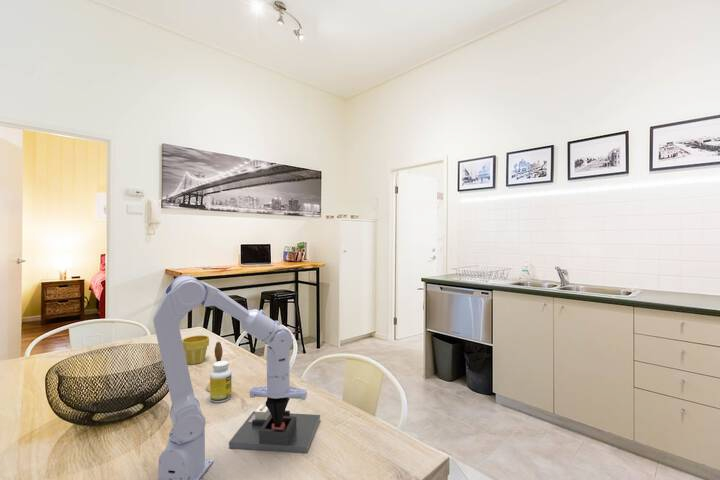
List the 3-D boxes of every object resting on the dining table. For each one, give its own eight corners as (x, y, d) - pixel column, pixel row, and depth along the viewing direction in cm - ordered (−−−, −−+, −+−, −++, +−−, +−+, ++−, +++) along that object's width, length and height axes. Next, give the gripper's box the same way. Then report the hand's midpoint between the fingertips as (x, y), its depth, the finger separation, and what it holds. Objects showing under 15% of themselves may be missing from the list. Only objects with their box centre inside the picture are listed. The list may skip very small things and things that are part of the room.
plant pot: (184, 358, 148) (184, 336, 148) (210, 356, 151) (210, 334, 151) (179, 367, 138) (179, 343, 138) (207, 364, 141) (207, 341, 141)
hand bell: (231, 390, 118) (231, 344, 118) (205, 394, 115) (205, 347, 115) (231, 380, 126) (231, 337, 125) (206, 384, 123) (206, 339, 122)
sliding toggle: (265, 422, 94) (265, 409, 94) (255, 422, 95) (254, 409, 95) (270, 415, 98) (270, 402, 98) (260, 414, 99) (260, 402, 99)
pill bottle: (224, 404, 108) (223, 367, 108) (205, 402, 109) (205, 366, 109) (235, 395, 114) (235, 360, 114) (218, 393, 116) (218, 359, 116)
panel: (307, 453, 84) (307, 433, 84) (229, 447, 86) (228, 429, 86) (320, 420, 99) (320, 403, 99) (253, 416, 101) (253, 400, 101)
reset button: (282, 439, 87) (282, 429, 87) (269, 438, 87) (269, 428, 87) (286, 431, 90) (286, 421, 90) (274, 430, 90) (274, 421, 90)
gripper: (309, 368, 92) (309, 418, 92) (257, 365, 93) (257, 415, 93) (302, 379, 85) (302, 433, 85) (246, 376, 86) (246, 430, 86)
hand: (278, 425), depth 88 cm, fingers closed, pressing on reset button
